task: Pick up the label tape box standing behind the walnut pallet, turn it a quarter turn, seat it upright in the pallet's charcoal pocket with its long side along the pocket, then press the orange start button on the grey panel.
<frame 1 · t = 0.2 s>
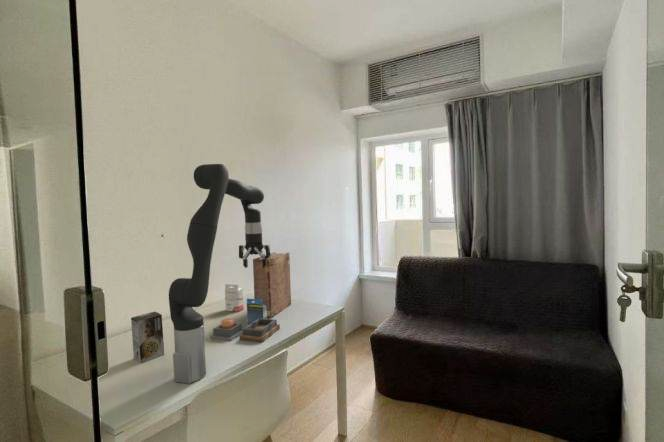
hand: (255, 267, 160), 29 cm above the table, tool pointing down, fingers open, 8 cm apart
label tape box: (257, 323, 169), on the table
pallet: (260, 334, 154), on the table
book: (274, 310, 188), on the table
button panel: (228, 334, 154), on the table
ink cartridge box: (234, 310, 191), on the table
coffee box: (149, 357, 134), on the table
start button: (227, 324, 154), point 5 cm above the table, slide at 0.0 cm
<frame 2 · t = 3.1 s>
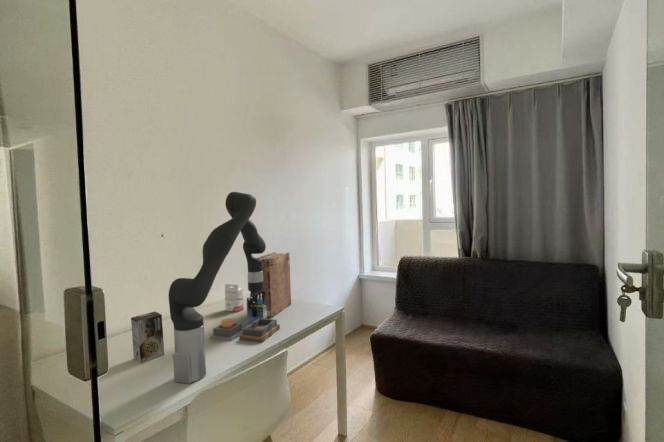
hand: (257, 315, 169), 4 cm above the table, tool pointing down, fingers closed on label tape box, 4 cm apart
label tape box: (257, 323, 169), on the table, touching gripper
everything else where it was.
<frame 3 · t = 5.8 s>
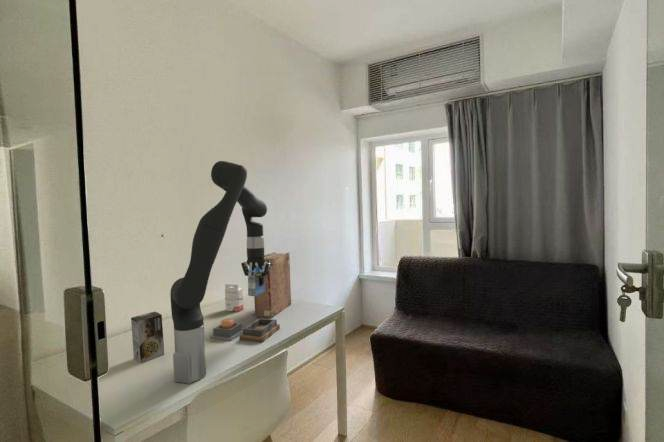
hand: (256, 285, 153), 22 cm above the table, tool pointing down, fingers closed on label tape box, 4 cm apart
label tape box: (256, 294, 153), point 18 cm above the table, touching gripper
everything else where it was.
when the fingers open (7 cm above the table, at t = 8.5 s): label tape box stays where it is, resting on pallet.
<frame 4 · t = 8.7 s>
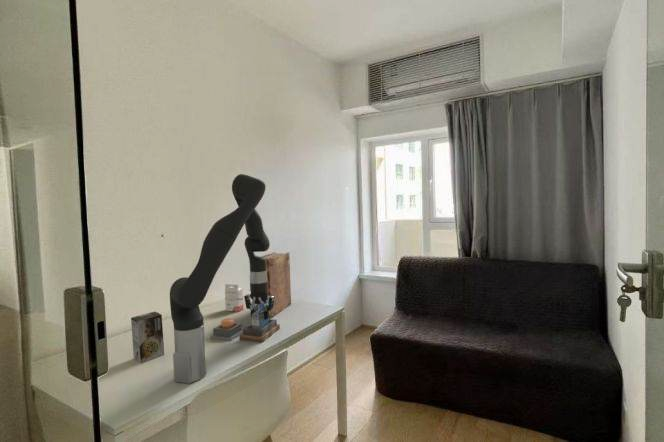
hand: (260, 318, 154), 7 cm above the table, tool pointing down, fingers open, 5 cm apart
label tape box: (261, 330, 154), point 2 cm above the table, touching pallet
everything else where it was.
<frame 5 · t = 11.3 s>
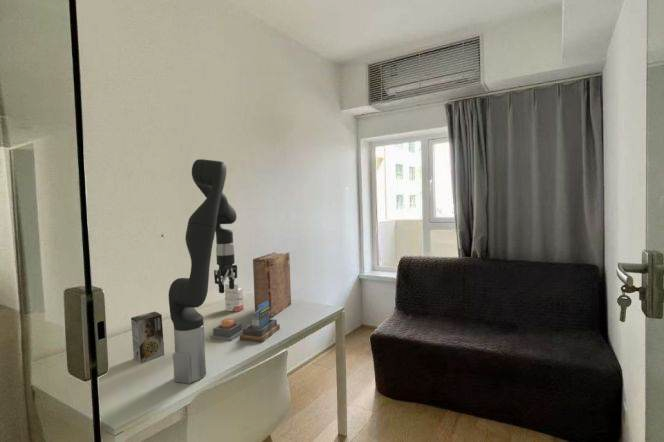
hand: (226, 290, 153), 20 cm above the table, tool pointing down, fingers open, 7 cm apart
nothing on the table moved.
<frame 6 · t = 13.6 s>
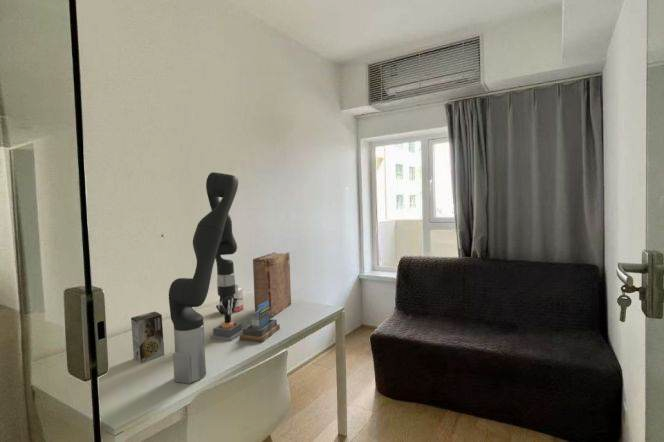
hand: (228, 322, 154), 6 cm above the table, tool pointing down, fingers closed
start button: (227, 326, 154), point 4 cm above the table, slide at 1.0 cm, touching gripper
everything else where it was.
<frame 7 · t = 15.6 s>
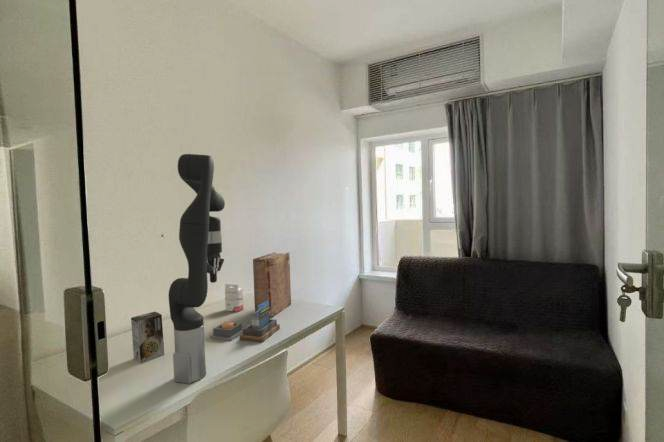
hand: (213, 282, 149), 25 cm above the table, tool pointing down, fingers closed
start button: (227, 327, 154), point 3 cm above the table, slide at 1.4 cm
everything else where it was.
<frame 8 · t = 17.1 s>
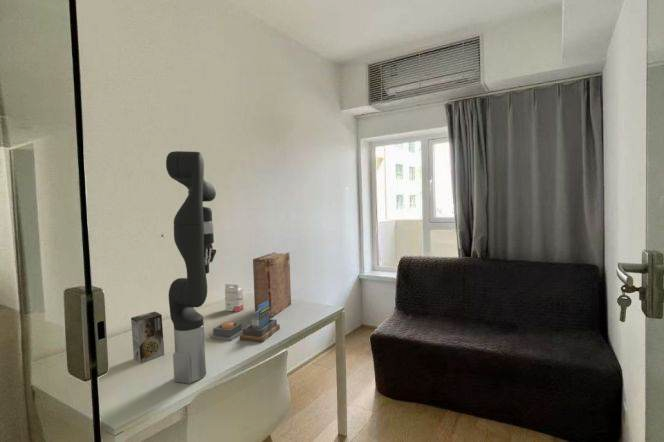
hand: (205, 273, 147), 29 cm above the table, tool pointing down, fingers closed
nothing on the table moved.
at the end: label tape box 0.4 cm off-centre on the pallet, point 1.8 cm above the pallet's base; label tape box tilted 0°; start button slide at 1.4 cm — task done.
